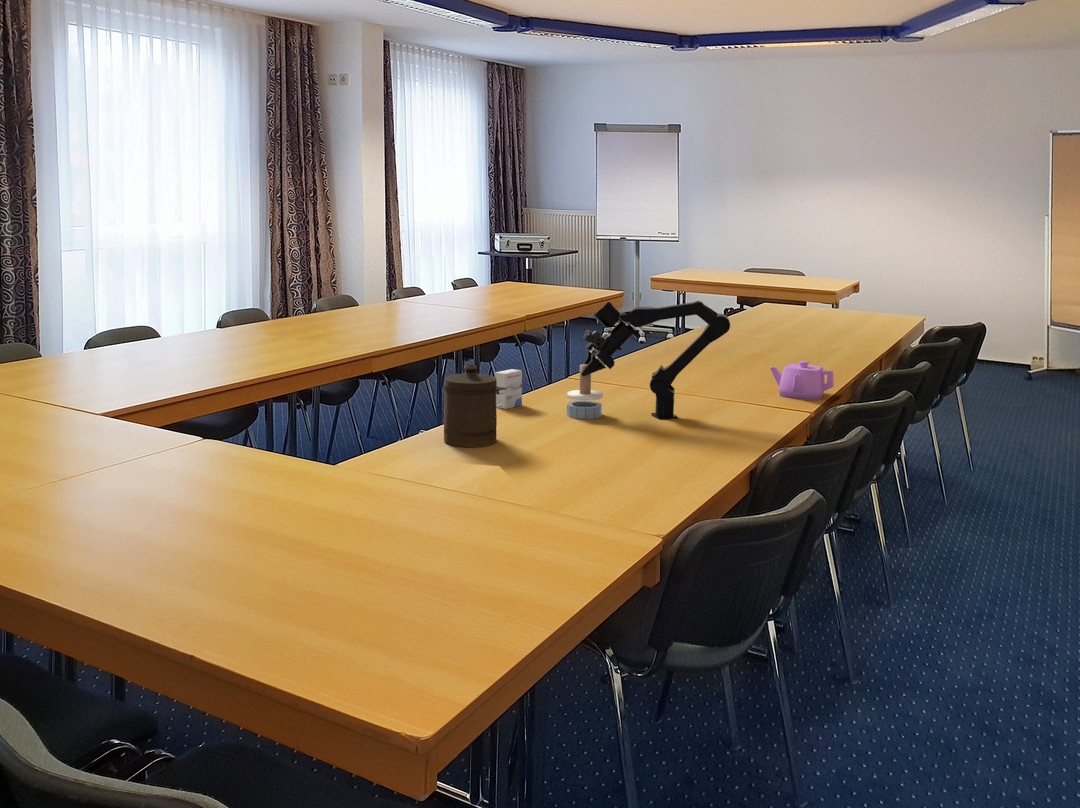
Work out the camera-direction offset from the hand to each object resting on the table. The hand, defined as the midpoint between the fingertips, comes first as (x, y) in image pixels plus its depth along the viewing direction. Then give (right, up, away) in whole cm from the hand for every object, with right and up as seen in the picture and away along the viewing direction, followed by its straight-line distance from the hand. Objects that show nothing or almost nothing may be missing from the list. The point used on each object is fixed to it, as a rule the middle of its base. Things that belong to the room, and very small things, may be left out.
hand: (580, 374), depth 299 cm
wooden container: (-33, -20, -29) cm, 48 cm away
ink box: (-23, -10, +14) cm, 29 cm away
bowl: (+1, -13, +3) cm, 13 cm away
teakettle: (+79, -7, +37) cm, 87 cm away
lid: (+1, -7, +2) cm, 7 cm away
